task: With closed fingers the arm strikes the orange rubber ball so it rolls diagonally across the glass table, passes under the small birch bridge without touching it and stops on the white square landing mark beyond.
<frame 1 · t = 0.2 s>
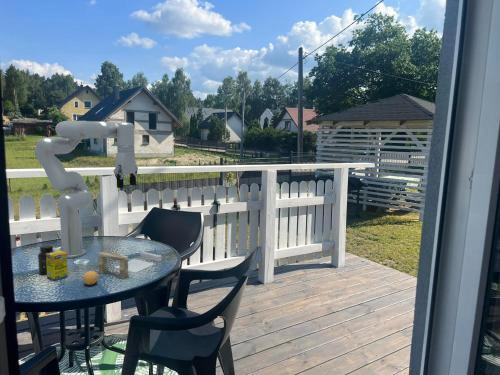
hand: (126, 186, 174), 37 cm above the table, tool pointing down, fingers open, 9 cm apart
supplement box: (57, 278, 159), on the table
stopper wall: (150, 259, 185), on the table
landing mark: (134, 265, 176), on the table
supplement bottle: (47, 273, 164), on the table
bridge: (113, 274, 164), on the table
ball: (90, 277, 153), on the table
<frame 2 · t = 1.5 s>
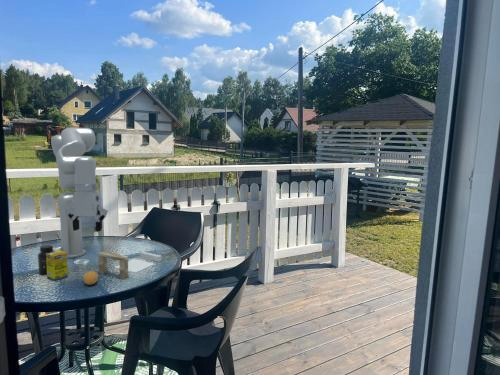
hand: (87, 230, 151), 23 cm above the table, tool pointing down, fingers open, 9 cm apart
nothing on the table moved.
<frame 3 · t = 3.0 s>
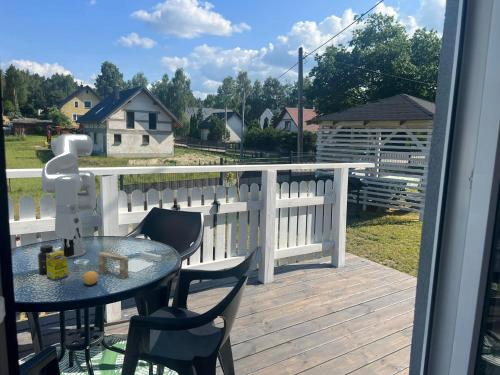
hand: (69, 255, 143), 15 cm above the table, tool pointing down, fingers closed
nothing on the table moved.
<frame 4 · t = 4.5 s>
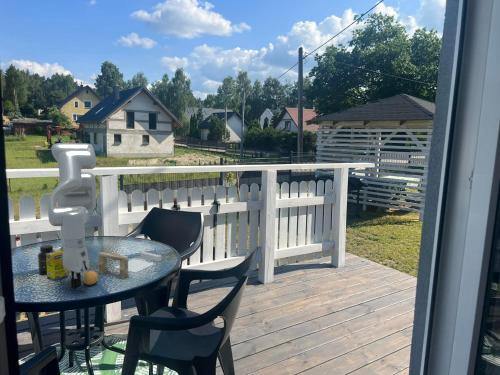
hand: (76, 287, 147), 1 cm above the table, tool pointing down, fingers closed
nothing on the table moved.
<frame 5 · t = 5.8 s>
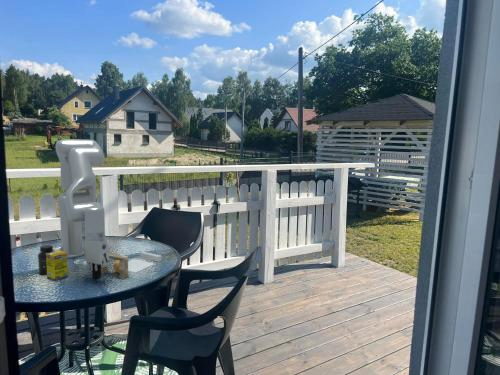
hand: (96, 278, 156), 2 cm above the table, tool pointing down, fingers closed
ball: (119, 266, 167), on the table
everything else where it was.
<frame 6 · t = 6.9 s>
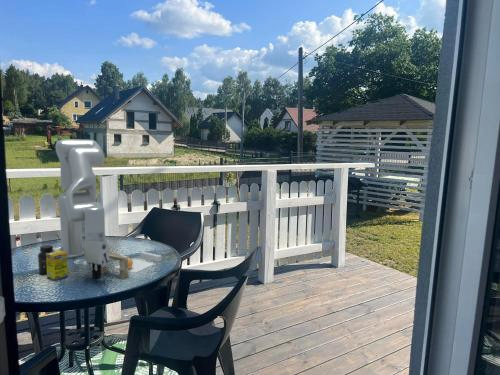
hand: (96, 278, 156), 2 cm above the table, tool pointing down, fingers closed
ball: (126, 263, 171), on the table
everything else where it was.
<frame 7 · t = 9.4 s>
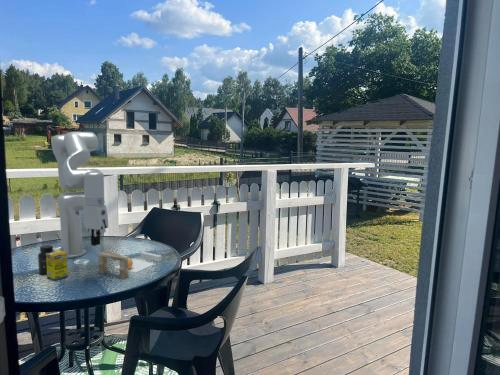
hand: (95, 244, 155), 16 cm above the table, tool pointing down, fingers closed
nothing on the table moved.
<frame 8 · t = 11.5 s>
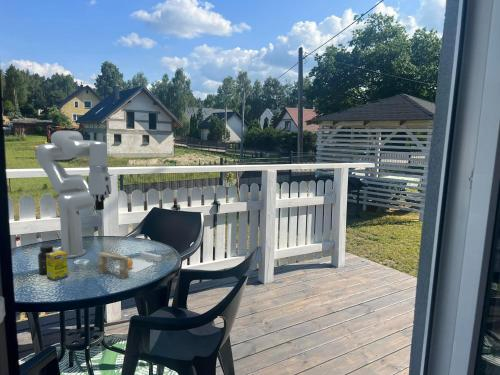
hand: (99, 209, 169), 27 cm above the table, tool pointing down, fingers closed
nothing on the table moved.
at the end: ball 5.2 cm from the landing mark (horizontally); ball never touched bridge; ball at rest at the end (0.0 cm/s) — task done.
